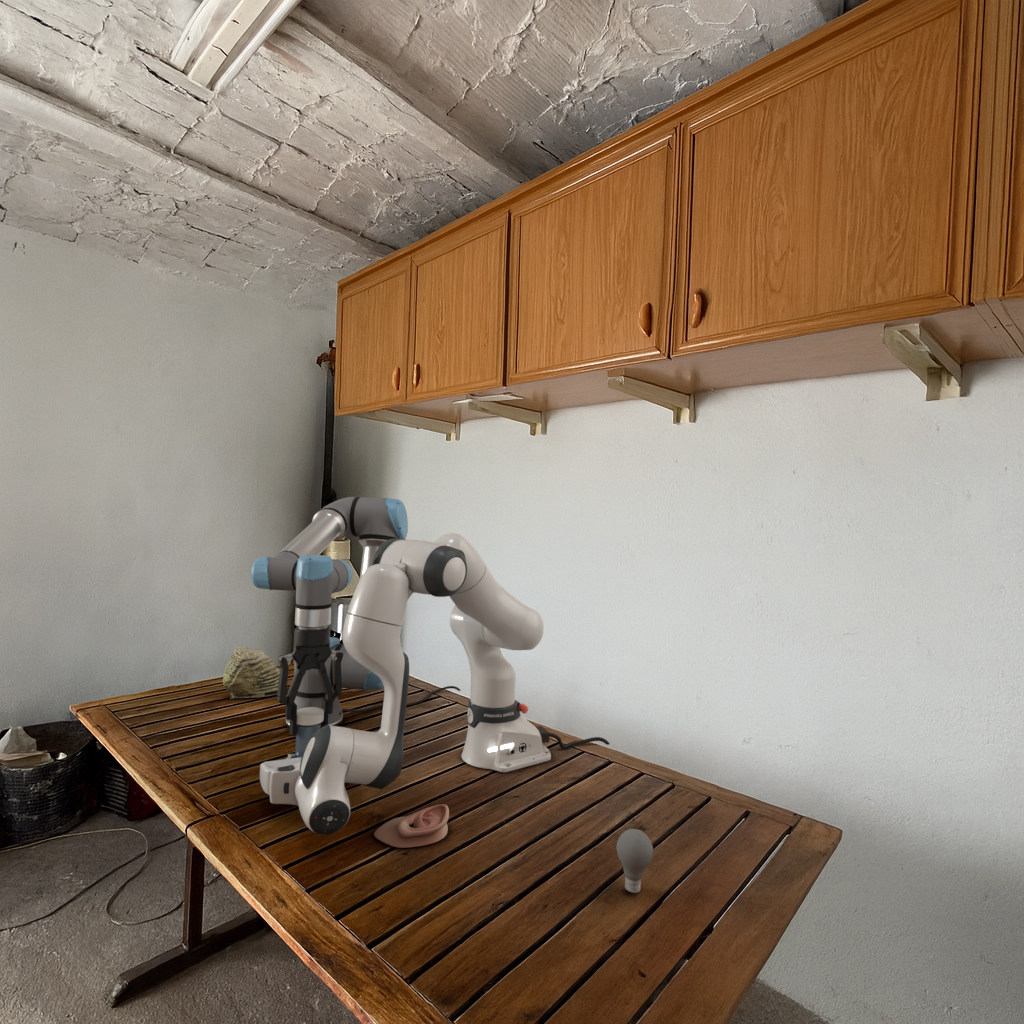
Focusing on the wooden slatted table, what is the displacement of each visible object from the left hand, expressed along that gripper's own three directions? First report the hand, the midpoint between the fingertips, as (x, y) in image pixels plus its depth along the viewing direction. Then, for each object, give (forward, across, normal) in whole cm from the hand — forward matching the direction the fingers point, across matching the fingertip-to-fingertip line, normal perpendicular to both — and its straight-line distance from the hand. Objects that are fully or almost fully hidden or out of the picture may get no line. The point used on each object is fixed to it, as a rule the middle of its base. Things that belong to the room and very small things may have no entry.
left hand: (308, 731), depth 139 cm
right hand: (+6, 0, -1) cm, 6 cm away
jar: (+12, 0, 0) cm, 12 cm away
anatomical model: (+12, -12, +30) cm, 34 cm away
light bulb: (+12, -37, +64) cm, 74 cm away
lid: (-4, 0, 0) cm, 4 cm away
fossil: (+12, -2, -69) cm, 70 cm away
